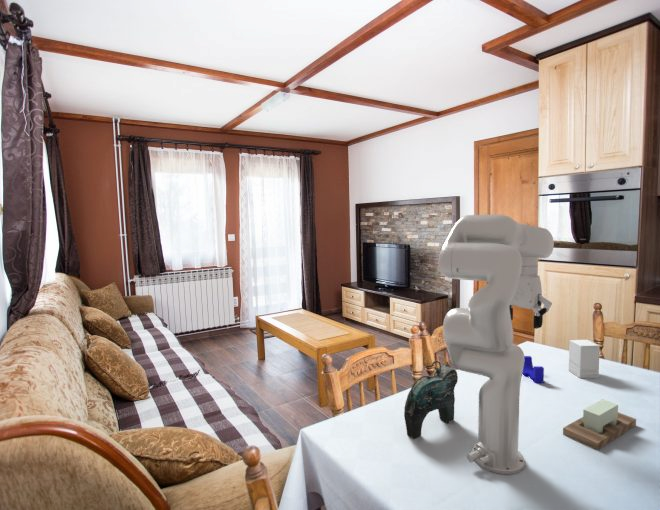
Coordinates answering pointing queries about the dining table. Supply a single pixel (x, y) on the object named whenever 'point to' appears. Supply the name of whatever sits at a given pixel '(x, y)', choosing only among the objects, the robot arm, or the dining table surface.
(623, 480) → the dining table surface
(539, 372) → the cable clip
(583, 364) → the supplement box
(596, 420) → the tall sage green block
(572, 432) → the brown wooden board
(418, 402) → the green ceramic figurine
